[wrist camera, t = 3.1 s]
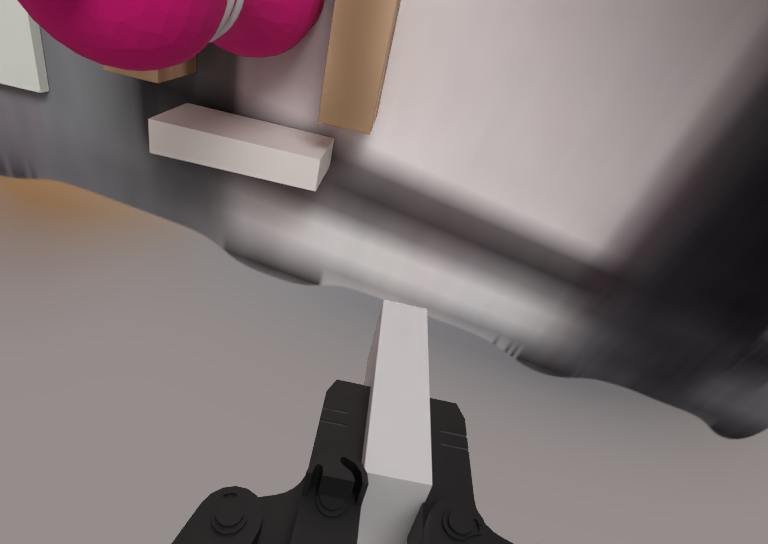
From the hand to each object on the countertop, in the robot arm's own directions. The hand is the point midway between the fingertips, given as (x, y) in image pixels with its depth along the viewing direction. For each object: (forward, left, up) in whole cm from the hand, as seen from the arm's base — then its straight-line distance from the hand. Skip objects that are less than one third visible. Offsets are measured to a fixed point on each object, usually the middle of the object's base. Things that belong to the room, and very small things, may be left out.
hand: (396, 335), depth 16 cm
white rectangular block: (+10, 0, -18) cm, 21 cm away
